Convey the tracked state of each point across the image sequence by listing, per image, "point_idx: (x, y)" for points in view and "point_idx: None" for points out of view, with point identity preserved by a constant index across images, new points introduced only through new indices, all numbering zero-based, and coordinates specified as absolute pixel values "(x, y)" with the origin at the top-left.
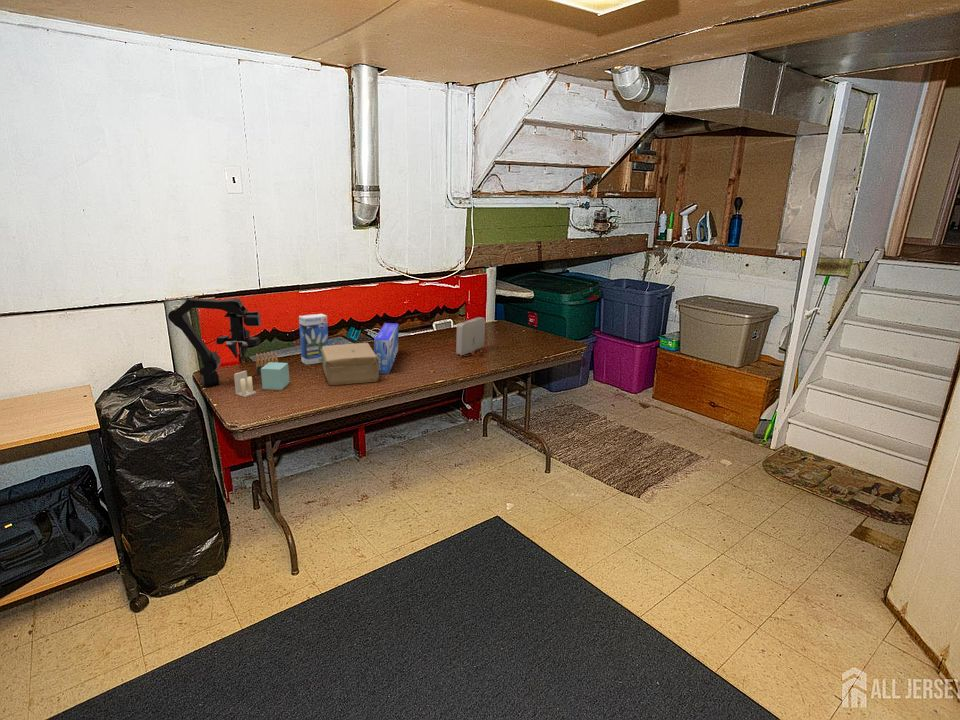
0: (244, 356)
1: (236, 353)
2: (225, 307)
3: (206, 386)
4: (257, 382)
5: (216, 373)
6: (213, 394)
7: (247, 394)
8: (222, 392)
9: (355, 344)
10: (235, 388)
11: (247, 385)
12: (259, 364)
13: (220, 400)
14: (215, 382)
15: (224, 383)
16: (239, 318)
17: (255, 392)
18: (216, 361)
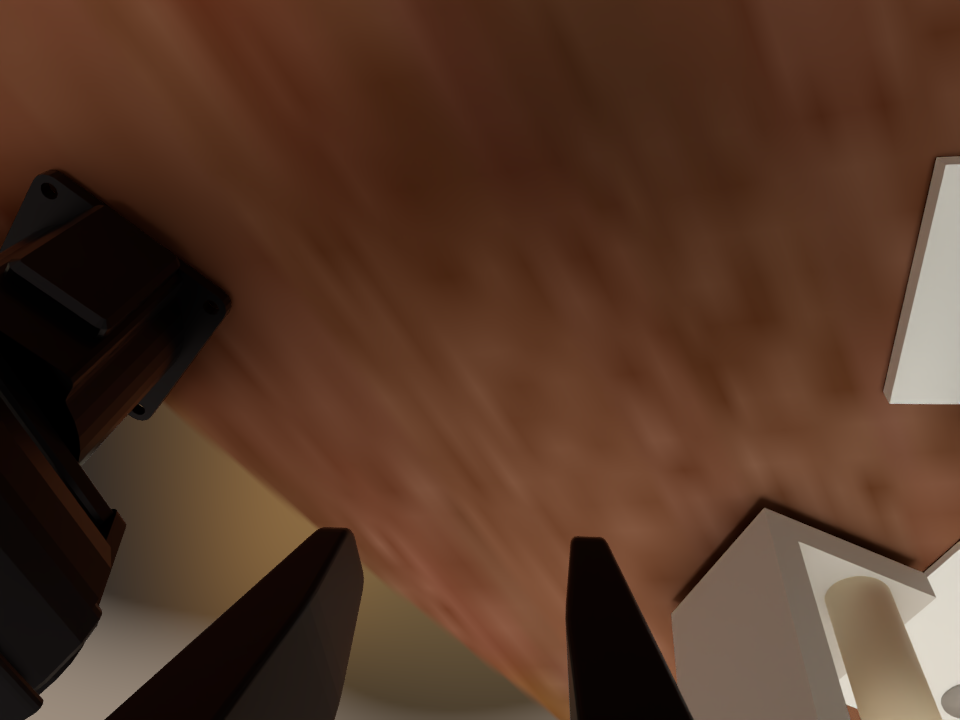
0: (622, 590)
1: (291, 709)
2: None
3: (146, 412)
4: (779, 65)
5: (87, 374)
6: (387, 568)
7: (843, 671)
8: (446, 515)
9: None
10: (681, 692)
11: (807, 598)
12: None
13: (558, 685)
14: (169, 332)
15: (246, 218)
16: None
17: (925, 594)
18: (34, 707)
